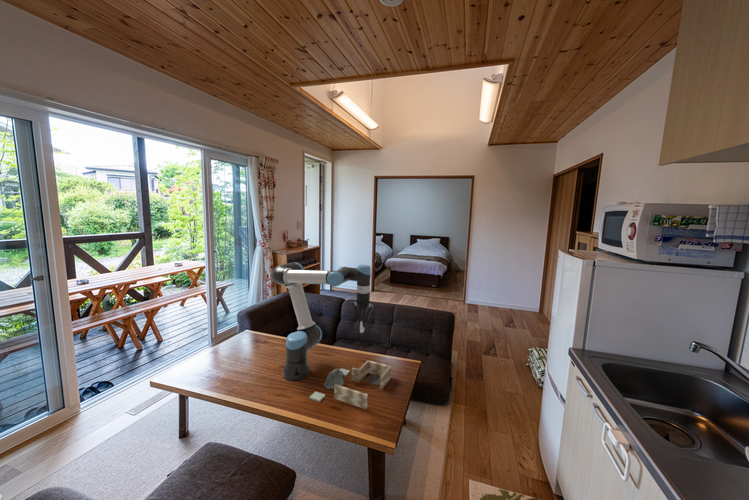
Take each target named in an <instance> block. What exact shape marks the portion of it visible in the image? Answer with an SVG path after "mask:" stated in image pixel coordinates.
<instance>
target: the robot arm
mask: <svg viewBox="0 0 749 500" xmlns="http://www.w3.org/2000/svg"><path fill="white" fill-rule="evenodd" d="M371 271H372V270H371V266H370V265H368V264H358V265H357V267H349V266H348V267H347V266H339V267H338V268H337V270H323V269H322V270H321V269H320V270H318V269H316V270H315V269H314V270H313V269H305V268H304V267H303V266H302V264H300V263H299V262H295V261H294V262H289V263H288V262H287V263H283V264H279V265H277V266H275V267H274V268H273V270H272V272H271V279H272V280H273V282H274V283H275V284H276V285H283V286H284V287H285V288H287V289H288V293H289V296H290V298H291V303H292V306H293V310H294V313H295V316H296V320H297V324H298V327H297V328H296V330H297V331H295V332H291V333H289V334H288V335H287V337H286V340H285V341H286V342H285V359H286V360H285V365H284V367H283V371H282V376H283V377H284V378H285V379H286V380H288V381H298V380H299V381H300V380H303V379H305V378H307V377H308V376H309V375H310V370H311V369H310V365H309V362H308V351H310V350H311V349H313V348H314V347H316V346H317V345H318V344H319V343H320V342H321V340H322V337H323V331H322V329H321V327H319V325H317V323H316V322H315V321H313V318H312V315H311V312H310V308H309V305H308V301H307V297H306V294H305V290H304V287H303V284H309V285H329V286H331V287H338V286H340V285H341V284H344V283H346V282H349V281H351V282H356V299H355V301H353V302H352V304H351V305H352V307H353V311H354V317H355V320H357V321H358V327H359V334H363V333H364V332H365V328H366V326H367V324H366V323H367V322H368V321H369V320H370V318H371V313H372V311H373V309H374V307H375V306H374V305H373V304H371V301H370V299H371V298H370V297H371V276H372V275H371V274H372V273H371ZM367 309H368V310H367Z"/></svg>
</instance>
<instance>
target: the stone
mask: <svg viewBox="0 0 749 500" xmlns="http://www.w3.org/2000/svg"><path fill="white" fill-rule="evenodd" d="M336 384H337V385H340V386H343V387H344V384H345V376H344V374H343V372H342V371H340V368H334V369H333V370H331V371H330V372H329V373H328V374H327V377H326V379H325V382H324V383H323V385H324V387H325V388H326V389H327V390H330V389H331V390H334V386H335V385H336Z"/></svg>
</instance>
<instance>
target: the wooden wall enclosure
mask: <svg viewBox="0 0 749 500" xmlns="http://www.w3.org/2000/svg"><path fill="white" fill-rule="evenodd" d="M367 374H368V376H367ZM366 376H367V377H366ZM365 377H366V378H365ZM364 378H365V379H364ZM363 379H364V381H363ZM390 379H392V366H391V365H387V364H384V363H381V362H380V363H379V362H377V361H376V362H375V361H372V360H366V361H365V362H364V363H362V365H361V366H360V367H358V368H356V367H352V368H351V381H352V382H356V383H361V382H362V381H363V382H366V383H369V384H373V385H374V386H379V390H384V388H385V387H386V385H387V383H389V381H390ZM333 391H334V392H333V396H334V397H333V399H334V400H338V401H340V402H344V403H346V404H349V405H351V406H355V407H359V408H361V409H364V410H367V409H368V400H369V399H368V398H369V397H368V393H365V392H362V391H359V390H356V389H352V388H351V387H346V386H344V385H343V386H340V385H337V384H336V385H335V386H334V389H333Z"/></svg>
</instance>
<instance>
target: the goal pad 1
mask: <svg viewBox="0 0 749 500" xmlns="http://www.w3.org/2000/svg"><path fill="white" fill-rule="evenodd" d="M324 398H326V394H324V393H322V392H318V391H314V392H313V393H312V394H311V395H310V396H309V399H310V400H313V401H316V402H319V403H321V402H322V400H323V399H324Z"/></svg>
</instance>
